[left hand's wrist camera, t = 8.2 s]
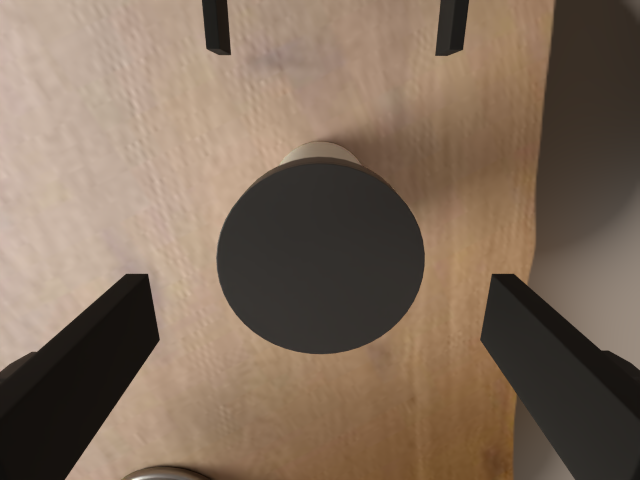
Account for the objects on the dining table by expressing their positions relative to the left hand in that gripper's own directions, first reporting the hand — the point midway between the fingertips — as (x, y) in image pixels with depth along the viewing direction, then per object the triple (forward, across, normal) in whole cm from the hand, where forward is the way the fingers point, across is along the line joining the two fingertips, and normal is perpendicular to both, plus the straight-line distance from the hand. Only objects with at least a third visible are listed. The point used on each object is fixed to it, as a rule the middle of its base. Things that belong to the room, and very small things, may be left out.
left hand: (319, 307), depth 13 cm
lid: (+4, 0, 0) cm, 4 cm away
